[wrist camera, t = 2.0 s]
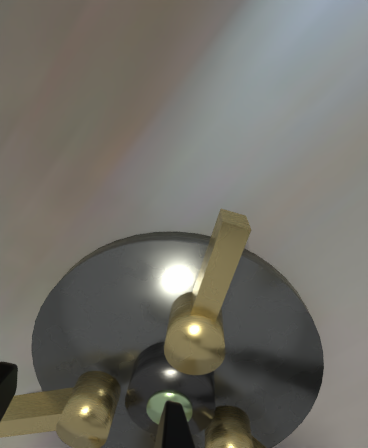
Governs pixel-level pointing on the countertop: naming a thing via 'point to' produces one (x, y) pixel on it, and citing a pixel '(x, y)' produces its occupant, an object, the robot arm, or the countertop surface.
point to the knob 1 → (67, 411)
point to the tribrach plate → (156, 334)
